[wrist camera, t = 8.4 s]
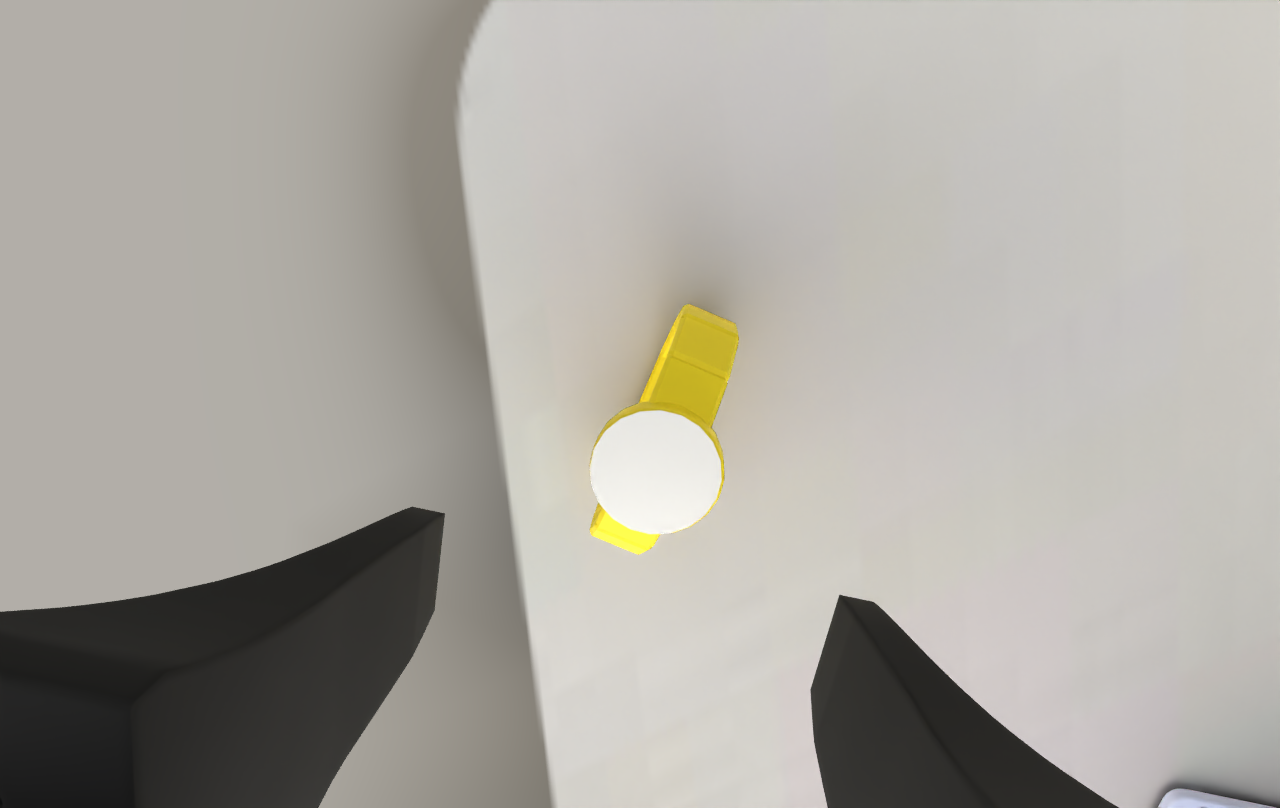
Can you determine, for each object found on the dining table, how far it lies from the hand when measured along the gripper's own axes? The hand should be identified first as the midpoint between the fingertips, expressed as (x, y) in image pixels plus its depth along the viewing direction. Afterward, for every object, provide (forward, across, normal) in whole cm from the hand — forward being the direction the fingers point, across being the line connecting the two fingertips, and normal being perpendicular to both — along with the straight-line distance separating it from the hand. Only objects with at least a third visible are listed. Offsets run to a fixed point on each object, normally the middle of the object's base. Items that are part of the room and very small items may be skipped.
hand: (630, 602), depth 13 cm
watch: (+9, 0, -1) cm, 9 cm away
